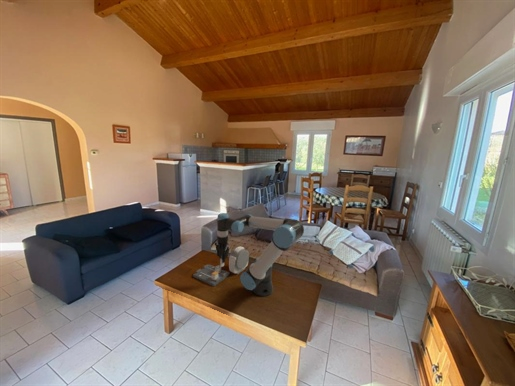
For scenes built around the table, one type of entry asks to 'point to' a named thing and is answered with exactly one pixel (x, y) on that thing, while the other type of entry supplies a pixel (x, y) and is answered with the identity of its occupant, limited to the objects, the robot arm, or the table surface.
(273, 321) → the table surface
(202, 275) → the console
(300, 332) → the table surface
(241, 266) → the alarm clock
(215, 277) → the fader
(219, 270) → the fader
